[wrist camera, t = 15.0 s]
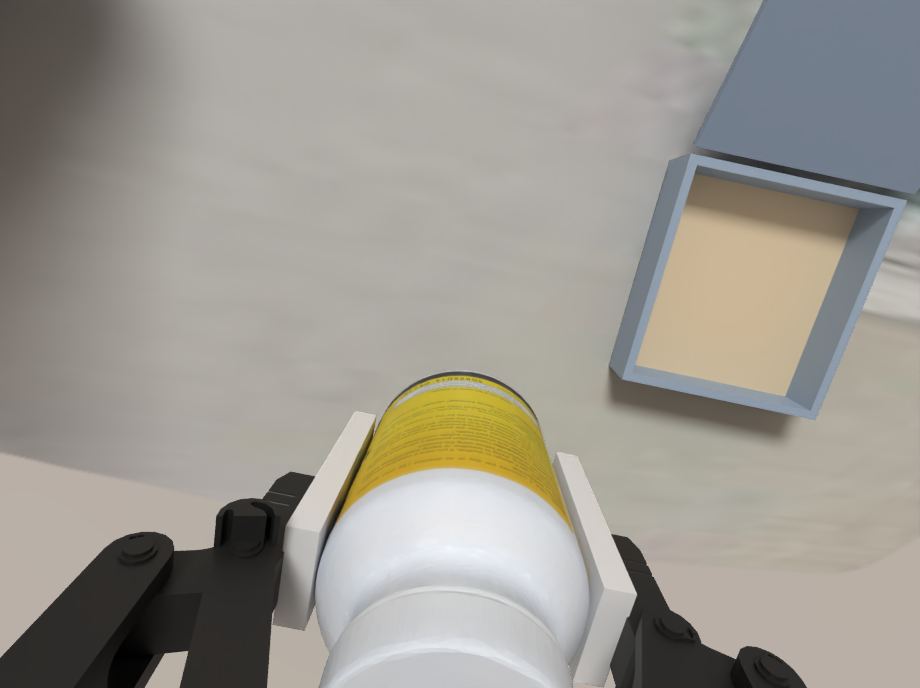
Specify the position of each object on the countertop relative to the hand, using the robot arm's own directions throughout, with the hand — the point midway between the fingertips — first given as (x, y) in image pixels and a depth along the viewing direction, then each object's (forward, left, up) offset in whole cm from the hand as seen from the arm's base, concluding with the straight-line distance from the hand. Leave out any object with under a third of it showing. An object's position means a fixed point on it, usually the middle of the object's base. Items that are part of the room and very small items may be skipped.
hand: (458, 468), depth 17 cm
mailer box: (+15, +8, -15) cm, 23 cm away
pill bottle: (0, 0, -2) cm, 2 cm away
